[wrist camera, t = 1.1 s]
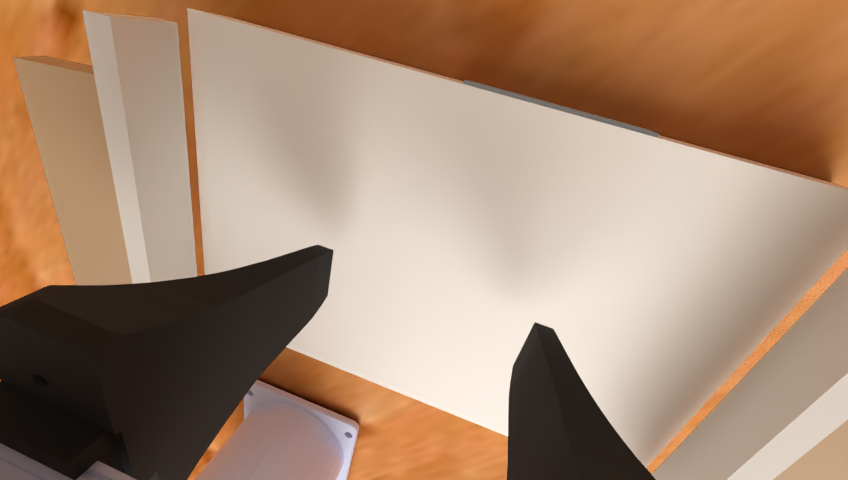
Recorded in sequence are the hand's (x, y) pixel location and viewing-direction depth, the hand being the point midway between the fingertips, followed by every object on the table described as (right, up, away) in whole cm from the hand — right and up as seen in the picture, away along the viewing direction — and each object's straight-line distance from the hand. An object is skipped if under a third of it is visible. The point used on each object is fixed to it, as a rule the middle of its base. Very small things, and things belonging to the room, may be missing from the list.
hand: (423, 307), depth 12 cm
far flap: (-10, +3, +1) cm, 10 cm away
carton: (+1, +2, +4) cm, 4 cm away
